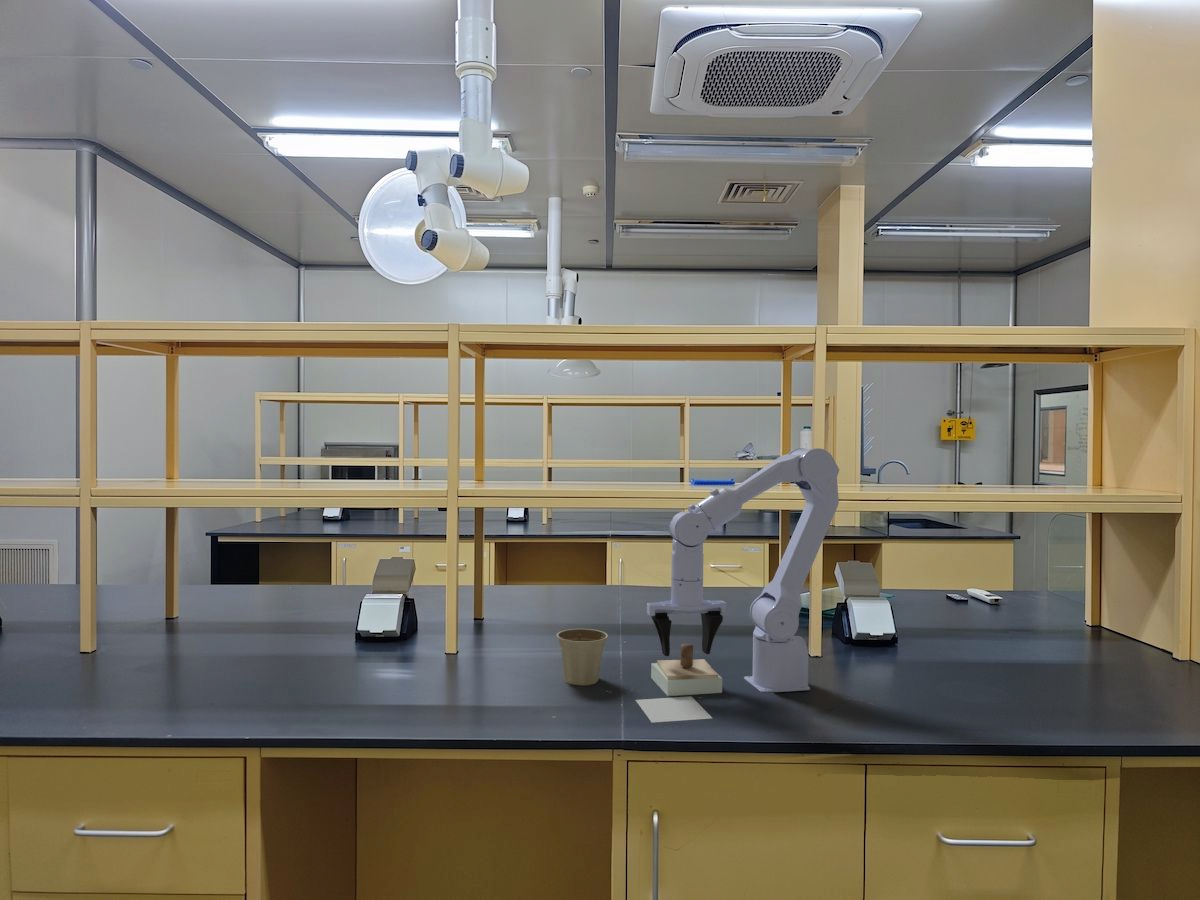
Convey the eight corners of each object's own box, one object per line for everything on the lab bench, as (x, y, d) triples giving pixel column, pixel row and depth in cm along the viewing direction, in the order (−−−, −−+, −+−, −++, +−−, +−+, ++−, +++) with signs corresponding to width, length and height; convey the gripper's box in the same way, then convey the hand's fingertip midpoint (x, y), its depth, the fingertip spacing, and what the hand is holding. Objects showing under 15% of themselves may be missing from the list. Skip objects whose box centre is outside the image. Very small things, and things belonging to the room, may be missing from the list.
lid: (704, 662, 133) (704, 638, 133) (717, 678, 124) (718, 651, 124) (657, 663, 132) (657, 638, 132) (667, 679, 123) (667, 652, 123)
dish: (701, 678, 134) (702, 660, 134) (722, 697, 125) (722, 677, 125) (651, 681, 132) (651, 663, 132) (667, 700, 122) (667, 680, 122)
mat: (691, 698, 122) (691, 696, 122) (712, 720, 113) (712, 718, 113) (635, 702, 120) (635, 699, 120) (651, 725, 110) (652, 722, 110)
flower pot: (579, 670, 137) (579, 625, 137) (617, 681, 131) (618, 634, 131) (545, 682, 130) (545, 635, 130) (584, 694, 124) (585, 644, 124)
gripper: (716, 573, 134) (715, 645, 134) (642, 575, 131) (641, 649, 131) (731, 580, 127) (730, 656, 127) (653, 582, 124) (652, 660, 124)
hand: (686, 653), depth 128 cm, fingers open, 7 cm apart
